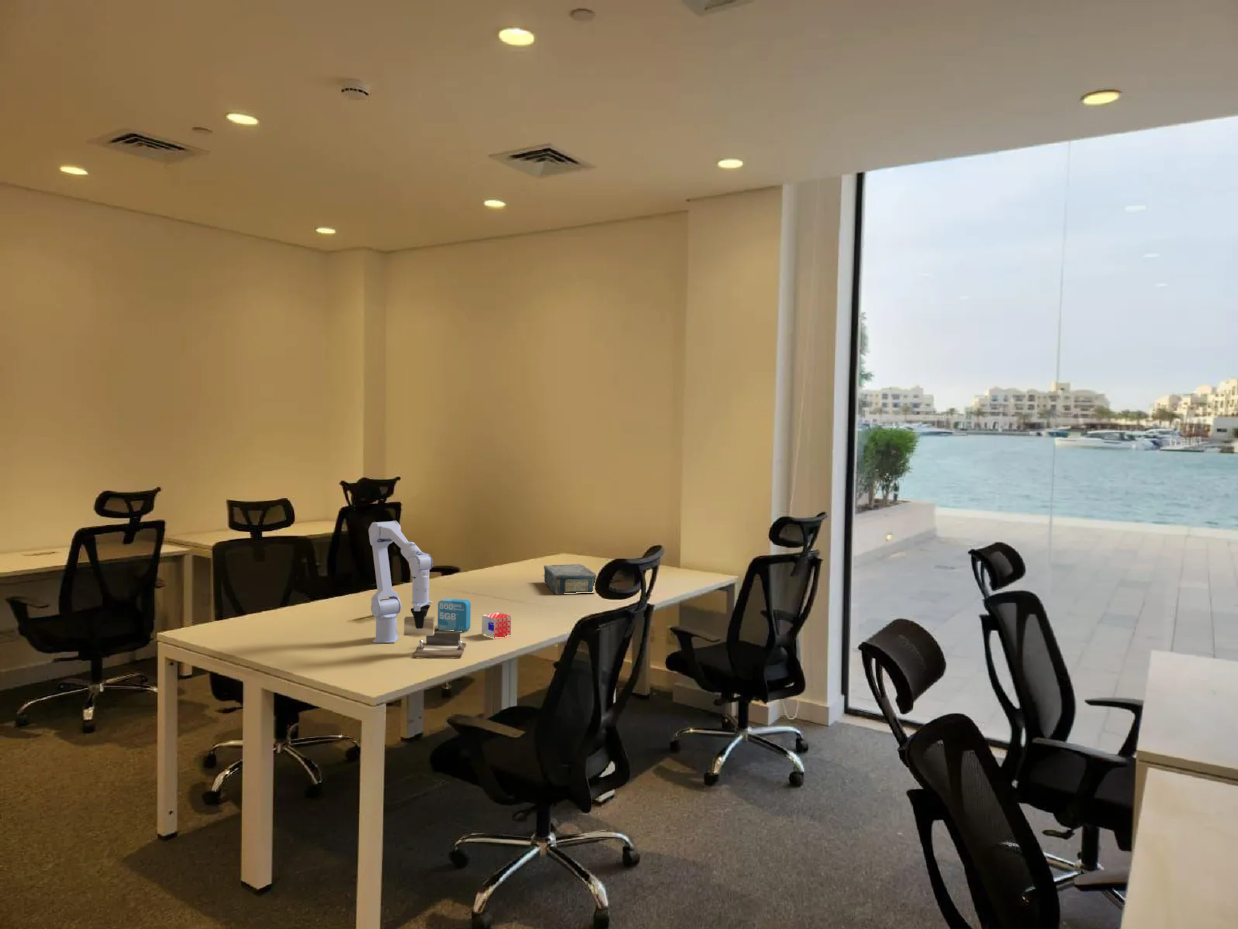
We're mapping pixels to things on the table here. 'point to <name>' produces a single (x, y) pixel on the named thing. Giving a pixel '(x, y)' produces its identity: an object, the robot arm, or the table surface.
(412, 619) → the beige wooden block
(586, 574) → the metal box
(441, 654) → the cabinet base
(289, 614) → the table surface
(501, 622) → the puzzle cube
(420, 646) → the hinge pins
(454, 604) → the data package
